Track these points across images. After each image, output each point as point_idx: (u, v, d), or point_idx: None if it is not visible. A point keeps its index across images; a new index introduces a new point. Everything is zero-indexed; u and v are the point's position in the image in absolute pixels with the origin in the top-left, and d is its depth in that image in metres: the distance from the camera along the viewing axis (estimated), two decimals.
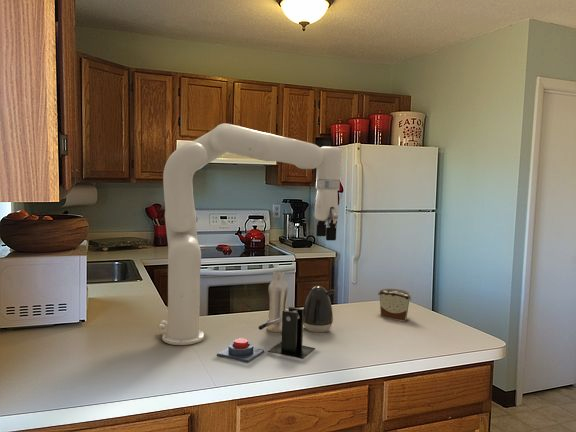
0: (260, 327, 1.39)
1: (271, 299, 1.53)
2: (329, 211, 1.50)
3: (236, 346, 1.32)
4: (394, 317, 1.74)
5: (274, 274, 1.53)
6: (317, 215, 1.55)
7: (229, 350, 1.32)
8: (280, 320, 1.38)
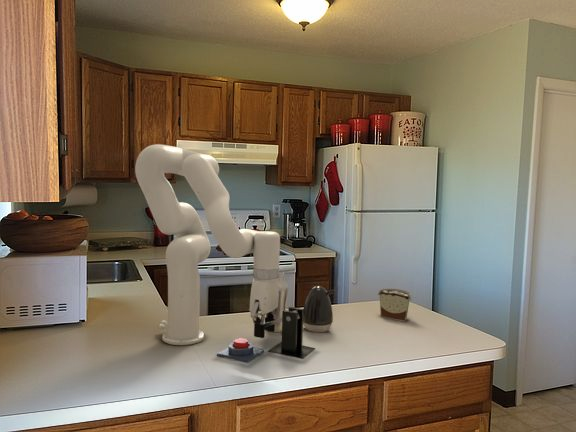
0: None
1: None
2: (254, 304, 1.36)
3: (236, 346, 1.32)
4: (394, 317, 1.74)
5: None
6: None
7: (229, 350, 1.32)
8: (280, 320, 1.38)
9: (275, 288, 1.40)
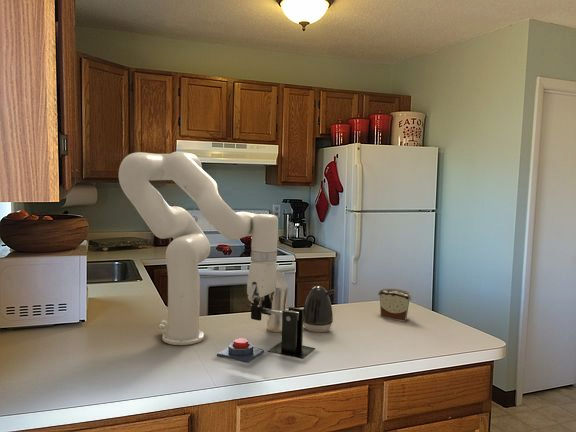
0: None
1: None
2: (251, 286, 1.36)
3: (236, 346, 1.32)
4: (394, 317, 1.74)
5: None
6: None
7: (229, 350, 1.32)
8: (279, 313, 1.38)
9: (273, 271, 1.40)
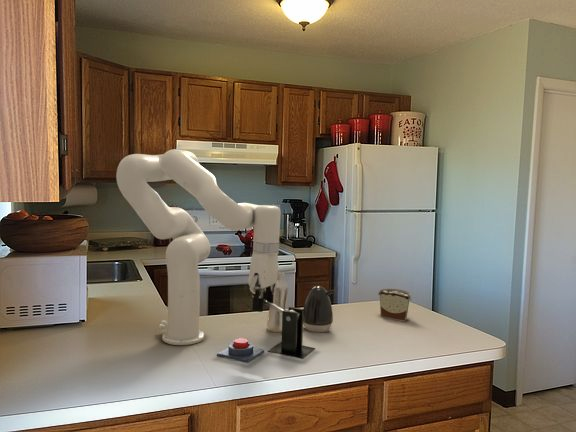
0: None
1: None
2: (253, 277, 1.36)
3: (236, 346, 1.32)
4: (394, 317, 1.74)
5: None
6: None
7: (229, 350, 1.32)
8: (280, 310, 1.38)
9: (274, 262, 1.40)
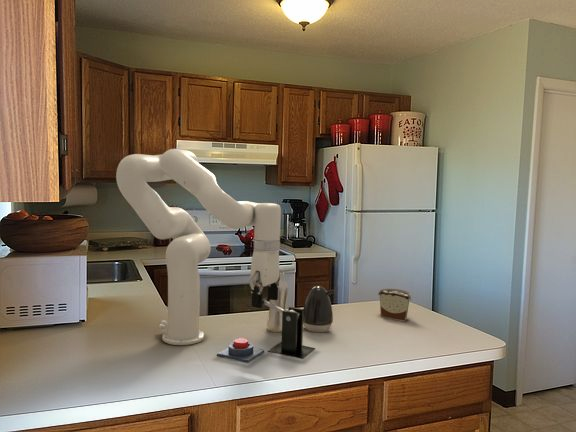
0: None
1: None
2: None
3: (236, 346, 1.32)
4: (394, 317, 1.74)
5: None
6: None
7: (229, 350, 1.32)
8: (280, 310, 1.38)
9: (276, 260, 1.40)
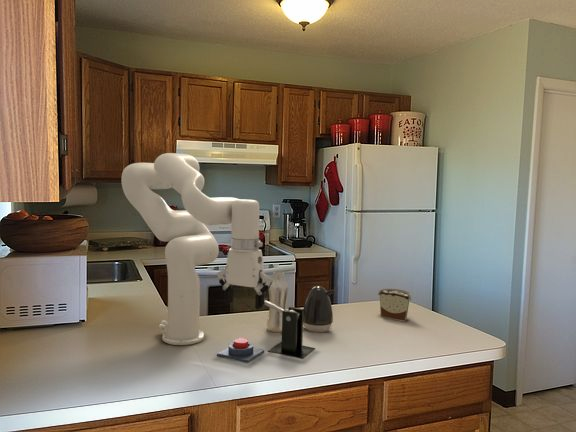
0: None
1: (271, 299, 1.53)
2: None
3: (236, 346, 1.32)
4: (394, 317, 1.74)
5: (274, 274, 1.53)
6: None
7: (229, 350, 1.32)
8: (280, 310, 1.38)
9: (244, 262, 1.29)
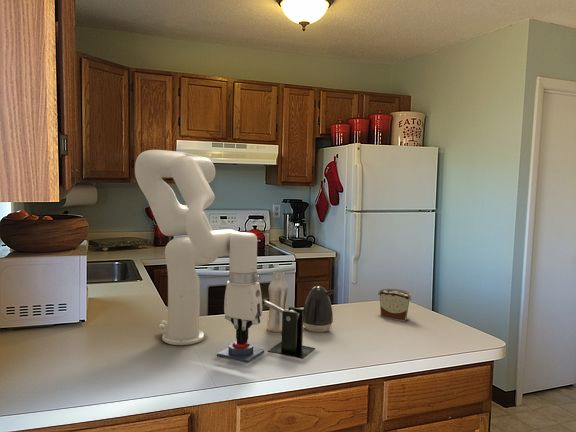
0: None
1: (271, 299, 1.53)
2: None
3: None
4: (394, 317, 1.74)
5: (274, 274, 1.53)
6: None
7: (229, 350, 1.32)
8: (280, 310, 1.38)
9: (242, 295, 1.29)
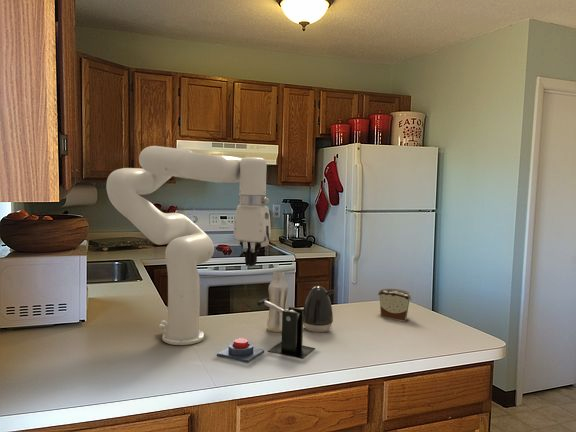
0: (259, 303, 1.38)
1: (271, 299, 1.53)
2: None
3: (236, 346, 1.32)
4: (394, 317, 1.74)
5: (274, 274, 1.53)
6: None
7: (229, 350, 1.32)
8: (280, 310, 1.38)
9: (252, 217, 1.33)
